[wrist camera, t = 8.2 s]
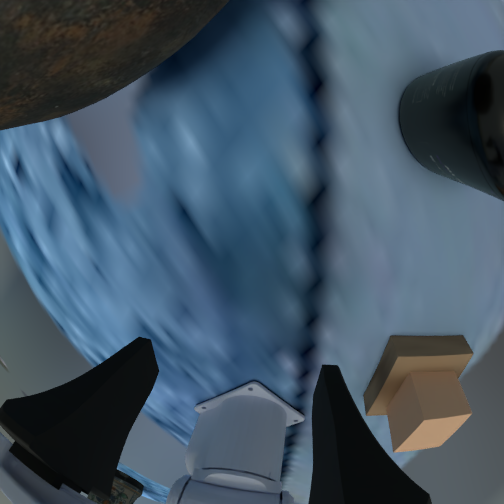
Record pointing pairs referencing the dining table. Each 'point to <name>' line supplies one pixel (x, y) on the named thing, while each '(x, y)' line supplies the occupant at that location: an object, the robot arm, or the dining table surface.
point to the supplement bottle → (459, 121)
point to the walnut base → (413, 365)
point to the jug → (85, 50)
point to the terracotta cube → (426, 410)
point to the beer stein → (121, 490)
